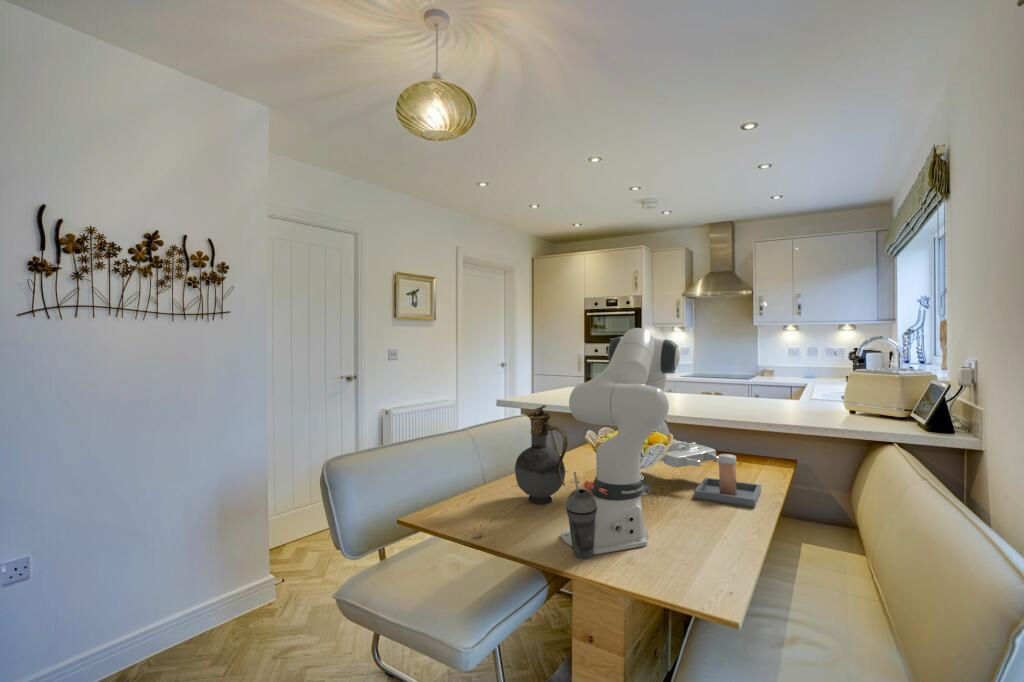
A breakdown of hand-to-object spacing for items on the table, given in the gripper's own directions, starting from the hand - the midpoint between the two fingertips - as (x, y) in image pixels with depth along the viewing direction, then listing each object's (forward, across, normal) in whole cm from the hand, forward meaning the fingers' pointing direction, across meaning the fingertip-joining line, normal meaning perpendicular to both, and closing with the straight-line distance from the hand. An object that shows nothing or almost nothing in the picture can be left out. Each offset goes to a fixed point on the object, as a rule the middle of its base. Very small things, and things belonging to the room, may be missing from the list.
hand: (709, 461), depth 162 cm
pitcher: (-19, -53, +9) cm, 57 cm away
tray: (+7, 0, +9) cm, 12 cm away
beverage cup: (+18, -66, +9) cm, 69 cm away
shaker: (+7, 0, +9) cm, 11 cm away
